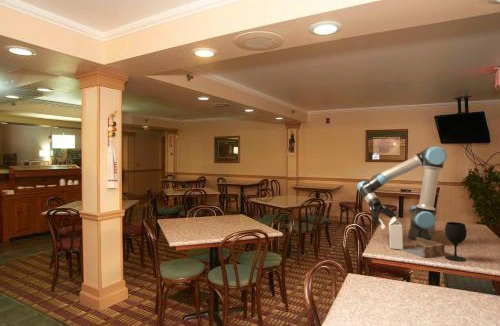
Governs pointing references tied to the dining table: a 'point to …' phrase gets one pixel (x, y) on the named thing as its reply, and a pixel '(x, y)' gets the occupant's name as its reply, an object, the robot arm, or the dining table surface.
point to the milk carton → (395, 234)
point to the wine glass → (455, 238)
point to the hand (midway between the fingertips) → (391, 227)
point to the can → (432, 230)
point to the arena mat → (414, 250)
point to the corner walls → (430, 247)
